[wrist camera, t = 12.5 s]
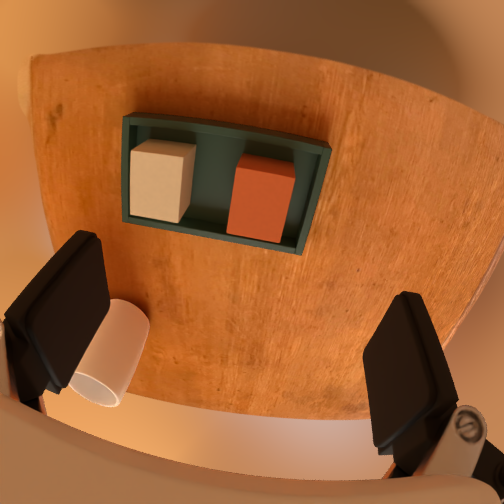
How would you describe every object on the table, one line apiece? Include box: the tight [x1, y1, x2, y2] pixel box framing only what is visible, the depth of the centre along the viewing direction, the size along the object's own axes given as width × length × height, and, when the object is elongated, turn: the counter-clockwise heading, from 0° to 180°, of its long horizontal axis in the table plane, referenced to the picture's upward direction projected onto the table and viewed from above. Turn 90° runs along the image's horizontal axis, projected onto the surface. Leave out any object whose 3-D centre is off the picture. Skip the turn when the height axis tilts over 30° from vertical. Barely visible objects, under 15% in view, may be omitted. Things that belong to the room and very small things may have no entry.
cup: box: [68, 299, 150, 407], centre depth 38 cm, size 8×8×14 cm
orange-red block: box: [226, 153, 296, 243], centre depth 29 cm, size 5×6×4 cm
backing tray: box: [121, 112, 332, 255], centre depth 30 cm, size 20×12×3 cm, turn 80°
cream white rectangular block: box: [130, 139, 196, 223], centre depth 29 cm, size 5×6×4 cm
